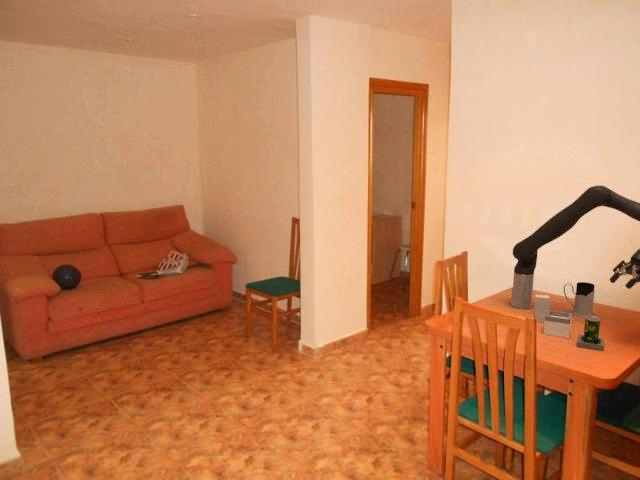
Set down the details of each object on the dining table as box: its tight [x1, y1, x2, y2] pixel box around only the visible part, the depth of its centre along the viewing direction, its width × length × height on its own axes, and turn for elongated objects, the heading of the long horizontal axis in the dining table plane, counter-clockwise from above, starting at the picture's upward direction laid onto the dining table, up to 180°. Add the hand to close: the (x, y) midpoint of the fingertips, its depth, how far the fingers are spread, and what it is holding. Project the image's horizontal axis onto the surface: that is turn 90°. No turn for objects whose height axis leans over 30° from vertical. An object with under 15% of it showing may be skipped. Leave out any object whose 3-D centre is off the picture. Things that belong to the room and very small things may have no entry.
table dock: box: [576, 334, 605, 352], centre depth 212 cm, size 9×9×2 cm
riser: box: [543, 309, 573, 339], centre depth 225 cm, size 10×10×8 cm
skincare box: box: [533, 294, 551, 324], centre depth 239 cm, size 6×4×12 cm
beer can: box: [582, 314, 601, 344], centre depth 211 cm, size 5×5×12 cm
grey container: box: [563, 281, 595, 319], centre depth 249 cm, size 9×14×15 cm, turn 41°
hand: (619, 284), depth 209 cm, fingers open, 8 cm apart
